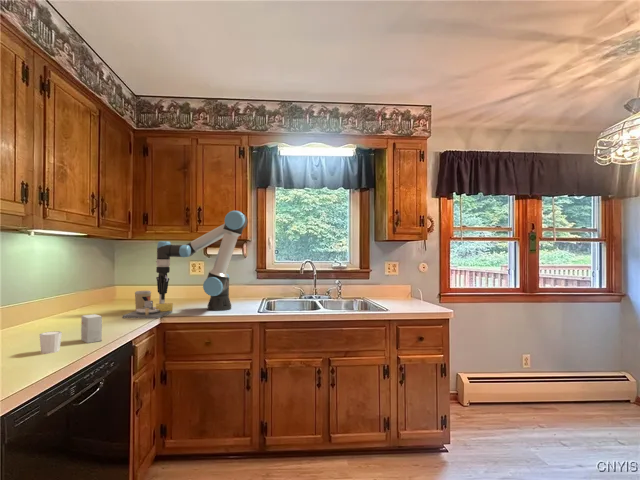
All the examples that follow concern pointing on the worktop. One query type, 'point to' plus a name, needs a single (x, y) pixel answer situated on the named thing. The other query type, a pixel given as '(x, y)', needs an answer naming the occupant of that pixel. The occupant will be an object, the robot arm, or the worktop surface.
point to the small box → (91, 328)
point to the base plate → (154, 315)
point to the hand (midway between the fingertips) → (161, 304)
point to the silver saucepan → (158, 308)
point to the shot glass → (50, 342)
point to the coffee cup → (142, 298)
